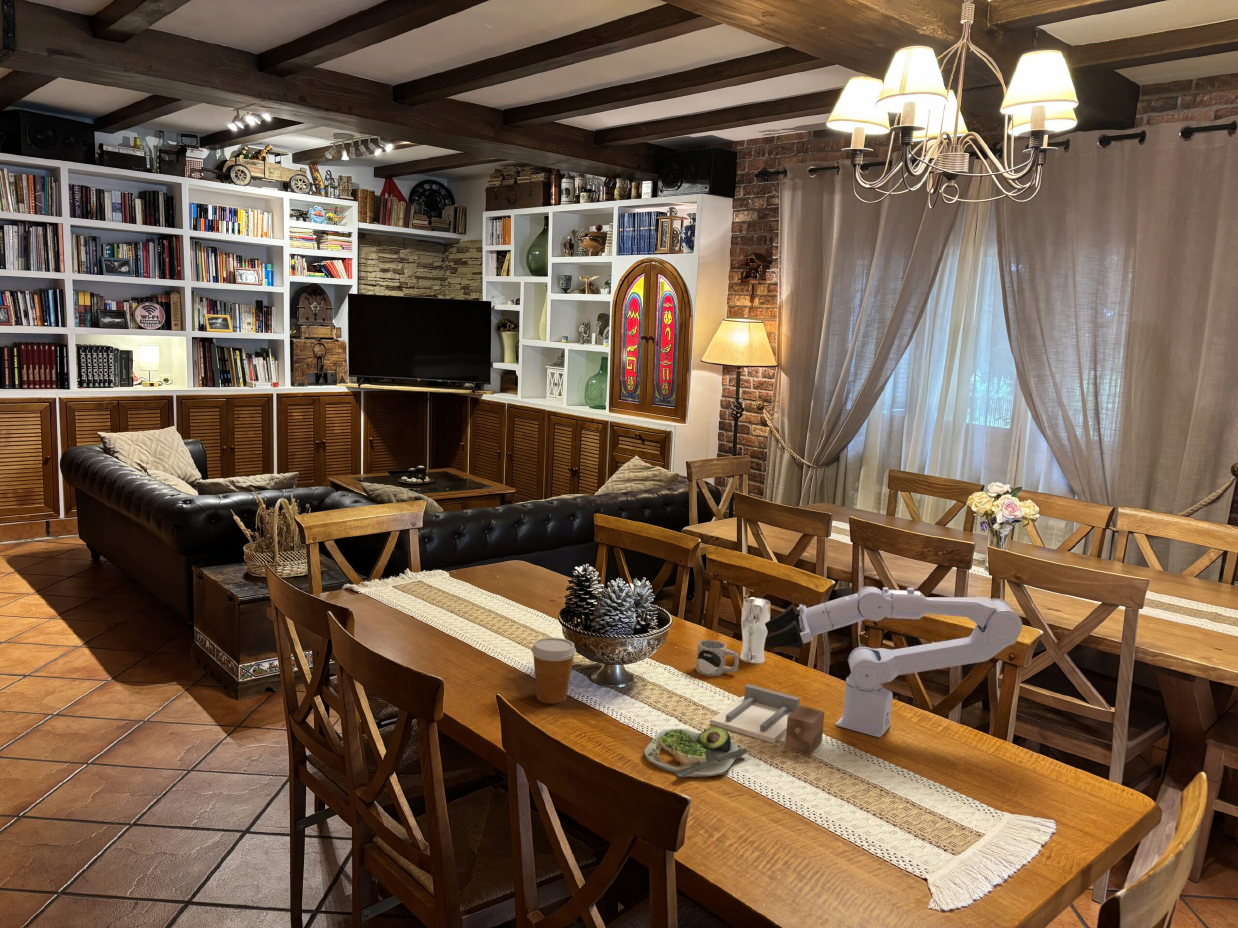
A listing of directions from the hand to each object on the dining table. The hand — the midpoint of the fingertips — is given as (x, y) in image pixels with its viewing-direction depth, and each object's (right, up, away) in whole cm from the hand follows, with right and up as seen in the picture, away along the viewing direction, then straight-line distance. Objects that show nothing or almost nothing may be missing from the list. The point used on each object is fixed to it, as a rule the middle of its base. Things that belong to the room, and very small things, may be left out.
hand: (766, 635), depth 192 cm
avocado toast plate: (-17, -20, -20) cm, 33 cm away
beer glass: (+2, -13, +35) cm, 37 cm away
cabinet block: (+5, -19, -12) cm, 24 cm away
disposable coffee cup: (-46, -14, +3) cm, 48 cm away
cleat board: (-2, -17, -2) cm, 18 cm away
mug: (-8, -14, +25) cm, 29 cm away
